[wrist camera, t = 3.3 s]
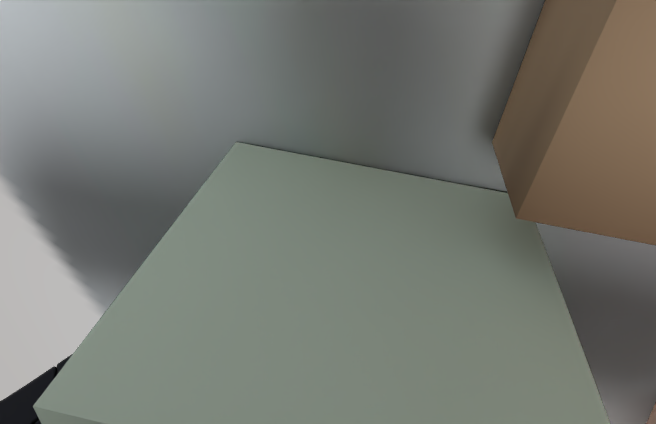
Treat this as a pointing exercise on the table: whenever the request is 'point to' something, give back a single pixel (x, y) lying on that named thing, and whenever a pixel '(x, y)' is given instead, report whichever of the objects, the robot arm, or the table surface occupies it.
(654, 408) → the clay cube
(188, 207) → the sage cube
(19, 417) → the robot arm
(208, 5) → the table surface
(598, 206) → the walnut block
